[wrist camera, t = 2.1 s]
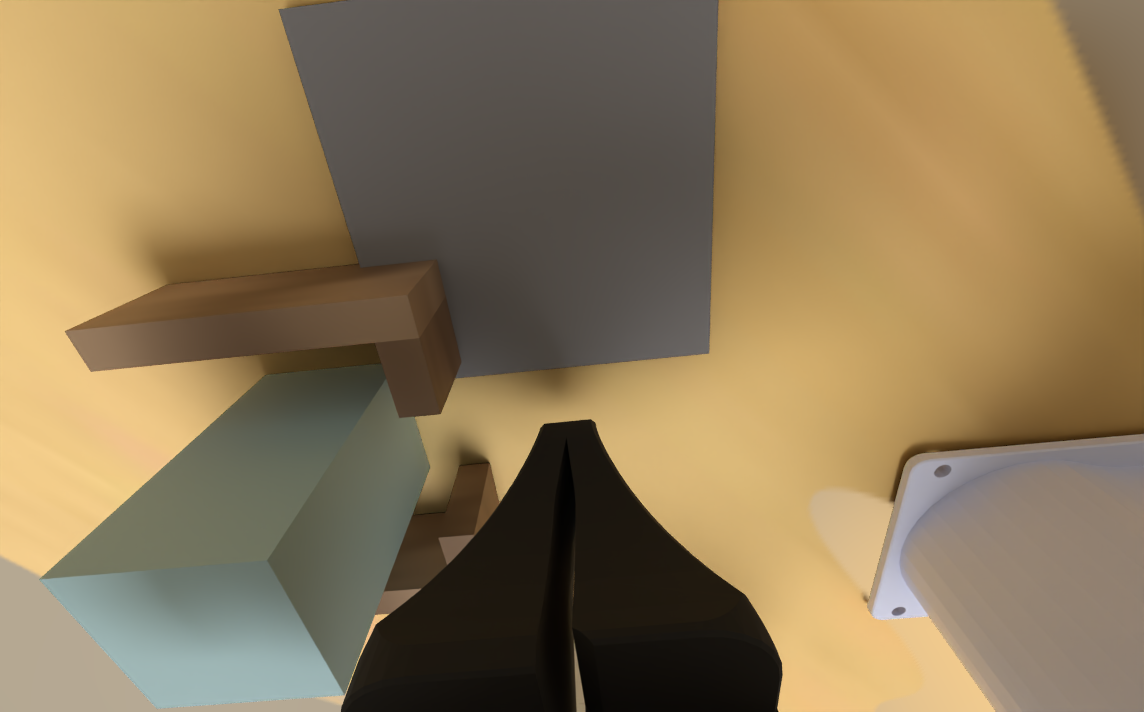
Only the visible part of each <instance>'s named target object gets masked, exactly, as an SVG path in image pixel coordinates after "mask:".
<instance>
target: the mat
mask: <svg viewBox="0 0 1144 712" xmlns="http://www.w3.org/2000/svg"><path fill="white" fill-rule="evenodd" d="M279 12H280V15H281V19H282V22H283V25H284V28H285V31H286V34H287V38H288V41H289V44H290V47H291V50H292V53H293V56H294V60H295V63H296V66H297V69H298V72H299V75H300V79H301V82H302V85H303V88H304V91H305V94H306V97H307V101H308V104H309V107H310V110H311V113H312V116H313V120H314V123H315V126H316V129H317V132H318V135H319V138H320V142H321V145H322V148H323V151H324V154H325V157H326V160H327V164H328V167H329V170H330V173H331V176H332V179H333V183H334V186H335V189H336V192H337V195H338V198H339V201H340V205H341V208H342V211H343V214H344V217H345V220H346V224H347V227H348V230H349V233H350V236H351V239H352V242H353V246H354V249H355V252H356V255H357V258H358V261H359V265H360V268H363V267H372V266H381V265H390V264H400V263H409V262H418V261H427V260H436V259H437V262H438V266H439V270H440V274H441V279H442V283H443V287H444V291H445V295H446V299H447V304H448V308H449V312H450V316H451V320H452V324H453V329H454V333H455V337H456V341H457V345H458V349H459V353H460V358H461V365H460V367H459V370H458V372H457V375H456V377H455V378H464V377H474V376H484V375H495V374H505V373H515V372H525V371H535V370H545V369H556V368H566V367H576V366H586V365H596V364H607V363H617V362H627V361H637V360H647V359H657V358H668V357H678V356H688V355H698V354H708V353H709V338H710V300H711V261H712V223H713V185H714V146H715V108H716V69H717V31H718V0H346V1H338V2H331V3H323V4H316V5H308V6H300V7H293V8H285V9H279Z"/></svg>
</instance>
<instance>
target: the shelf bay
mask: <svg viewBox="0 0 1144 712" xmlns="http://www.w3.org/2000/svg"><path fill="white" fill-rule="evenodd" d="M65 333H66V334H67V336H68V337H69V339H70V340H71V342H72V343H73V345H74V346H75V348H76V350H77V351H78V353H79V354H80V356H81V357H82V359H83V360H84V362H85V363H86V365H87V367H88V368H89V370H90V371H91V372H93V371H103V370H112V369H122V368H132V367H142V366H152V365H161V364H171V363H181V362H191V361H201V360H210V359H220V358H230V357H240V356H250V355H259V354H269V353H279V352H289V351H299V350H308V349H318V348H328V347H338V346H348V345H357V344H367V343H375V346H376V349H377V352H378V355H379V358H380V361H381V364H382V367H383V370H384V374H385V377H386V380H387V383H388V386H389V389H390V392H391V395H392V398H393V401H394V404H395V407H396V410H397V413H398V416H399V418H405V417H416V416H426V415H437V414H441V412H442V409H443V407H444V404H445V402H446V399H447V397H448V394H449V392H450V390H451V387H452V385H453V382H454V380H455V377H456V375H457V372H458V370H459V367H460V365H461V358H460V353H459V349H458V345H457V341H456V337H455V333H454V329H453V324H452V320H451V316H450V312H449V308H448V304H447V299H446V295H445V291H444V287H443V283H442V279H441V274H440V270H439V266H438V262H437V259H436V260H427V261H418V262H409V263H400V264H390V265H381V266H372V267H363V268H360V265H359V264H354V265H345V266H336V267H327V268H318V269H308V270H299V271H290V272H281V273H272V274H263V275H253V276H244V277H235V278H226V279H217V280H207V281H198V282H189V283H180V284H171V285H165V286H163V287H161V288H159V289H157V290H154V291H152V292H150V293H148V294H146V295H143V296H141V297H139V298H137V299H135V300H132V301H130V302H128V303H126V304H124V305H121V306H119V307H117V308H115V309H113V310H110V311H108V312H106V313H104V314H102V315H99V316H97V317H95V318H93V319H91V320H88V321H86V322H84V323H82V324H80V325H77V326H75V327H73V328H71V329H69V330H66V331H65ZM498 505H499V501H498V497H497V492H496V488H495V484H494V480H493V475H492V471H491V467H490V463H483V464H472V465H461V466H459V469H458V473H457V476H456V480H455V483H454V486H453V490H452V493H451V496H450V500H449V503H448V507H447V510H446V513H435V514H423V515H412V517H411V520H410V522H409V525H408V528H407V530H406V533H405V536H404V538H403V541H402V544H401V546H400V549H399V552H398V554H397V557H396V560H395V562H394V565H393V568H392V570H391V573H390V576H389V578H388V581H387V584H386V586H385V589H384V592H383V594H382V597H381V600H380V602H379V605H378V608H377V610H376V613H375V615H378V614H390V613H392V612H393V611H394V610H396V609H397V608H398V607H399V606H401V605H402V604H403V603H405V602H406V601H407V600H408V599H410V598H411V597H412V596H414V595H415V594H416V593H417V592H418V591H420V590H421V589H422V588H423V587H424V586H425V585H426V584H428V583H429V582H430V581H431V580H432V579H433V578H434V577H435V576H436V575H437V574H438V573H439V572H440V571H441V570H442V569H444V568H445V567H446V566H447V565H448V564H449V563H450V562H451V561H452V560H453V559H454V558H455V557H456V556H457V555H458V554H459V553H460V551H461V550H462V549H463V548H464V547H465V546H466V545H467V544H468V543H469V541H470V540H471V539H472V538H473V537H474V536H475V535H476V533H477V532H478V531H479V530H480V529H481V527H482V526H483V525H484V524H485V522H486V521H487V520H488V519H489V517H490V516H491V515H492V513H493V512H494V511H495V509H496V508H497V506H498Z"/></svg>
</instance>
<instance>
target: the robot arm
mask: <svg viewBox="0 0 1144 712" xmlns="http://www.w3.org/2000/svg"><path fill="white" fill-rule="evenodd" d="M574 572H575V574H574ZM573 590H574V596H573ZM867 608H868V610H869V612H870V613H871V615H872V616H873V617H874V618H876V619H879V620H886V619H900V618H911V617H926V616H929V618H930V619H931V620H932V622H933V623H934V625H935V626H936V627H937V629H938V630H939V632H940V633H941V635H942V636H943V637H944V639H945V640H946V642H947V643H948V644H949V646H950V647H951V649H952V650H953V651H954V653H955V654H956V656H957V657H958V658H959V660H960V661H961V663H962V664H963V666H964V667H965V669H966V670H967V671H968V673H969V674H970V676H971V677H972V678H973V680H974V681H975V683H976V684H977V686H978V687H979V688H980V690H981V691H982V693H983V694H984V696H985V697H986V698H987V700H988V701H989V703H990V704H991V705H992V707H993V708H994V710H995V711H996V712H1144V434H1137V435H1125V436H1114V437H1103V438H1091V439H1080V440H1069V441H1057V442H1046V443H1035V444H1023V445H1012V446H1001V447H989V448H978V449H967V450H955V451H944V452H933V453H922V454H918V455H915V456H913V457H911V458H910V459H909V460H908V461H907V462H906V464H905V466H904V469H903V473H902V477H901V481H900V484H899V488H898V492H897V496H896V499H895V503H894V507H893V511H892V514H891V518H890V522H889V526H888V529H887V533H886V537H885V541H884V544H883V548H882V552H881V556H880V559H879V563H878V567H877V571H876V574H875V578H874V582H873V586H872V589H871V593H870V597H869V601H868V604H867ZM574 643H575V649H576V655H577V661H578V666H579V672H580V678H581V684H582V690H583V696H584V702H585V712H778V709H777V706H778V700H779V693H780V687H781V681H782V662H781V660H780V657H779V655H778V652H777V649H776V647H775V645H774V643H773V641H772V639H771V637H770V635H769V633H768V631H767V629H766V628H765V626H764V624H763V622H762V621H761V619H760V617H759V615H758V614H757V612H756V611H755V609H754V607H753V606H752V604H751V603H750V601H749V600H748V598H747V597H746V595H745V594H743V593H742V592H740V591H739V590H738V589H736V588H735V587H733V586H732V585H730V584H729V583H728V582H726V581H725V580H723V579H722V578H721V577H719V576H718V575H717V574H715V573H714V572H713V571H711V570H710V569H709V568H708V567H706V566H705V565H704V564H703V563H702V562H700V561H699V560H698V559H697V558H695V557H694V556H693V555H692V554H691V553H690V552H689V551H687V550H686V549H685V548H684V547H683V546H682V545H681V544H680V543H679V542H678V541H677V540H676V539H675V538H673V537H672V536H671V535H670V534H669V533H668V532H667V531H666V530H665V529H664V528H663V527H662V526H661V525H660V524H659V523H658V522H657V520H656V519H655V518H654V517H653V516H652V515H651V514H650V513H649V512H648V510H647V509H646V508H645V507H644V506H643V505H642V503H641V502H640V501H639V500H638V498H637V497H636V496H635V494H634V493H633V492H632V490H631V489H630V488H629V486H628V485H627V484H626V482H625V481H624V479H623V478H622V476H621V475H620V473H619V472H618V470H617V468H616V467H615V465H614V463H613V462H612V460H611V459H610V457H609V455H608V453H607V451H606V450H605V447H604V445H603V443H602V441H601V439H600V437H599V434H598V431H597V428H596V424H595V422H594V421H592V420H591V419H589V420H579V421H569V422H558V423H548V424H544V425H543V426H542V427H541V428H540V431H539V434H538V436H537V439H536V441H535V443H534V445H533V447H532V449H531V451H530V454H529V456H528V457H527V459H526V461H525V463H524V465H523V467H522V468H521V470H520V472H519V474H518V476H517V477H516V479H515V481H514V482H513V484H512V485H511V487H510V488H509V490H508V491H507V493H506V495H505V496H504V498H503V499H502V501H501V502H500V504H499V505H498V506H497V508H496V509H495V511H494V512H493V513H492V515H491V516H490V517H489V519H488V520H487V521H486V522H485V524H484V525H483V526H482V527H481V529H480V530H479V531H478V532H477V533H476V535H475V536H474V537H473V538H472V539H471V540H470V541H469V543H468V544H467V545H466V546H465V547H464V548H463V549H462V550H461V551H460V553H459V554H458V555H457V556H456V557H455V558H454V559H453V560H452V561H451V562H450V563H449V564H448V565H447V566H446V567H445V568H444V569H442V570H441V571H440V572H439V573H438V574H437V575H436V576H435V577H434V578H433V579H432V580H431V581H430V582H429V583H428V584H426V585H425V586H424V587H423V588H422V589H421V590H420V591H418V592H417V593H416V594H415V595H414V596H412V597H411V598H410V599H408V600H407V601H406V602H405V603H403V604H402V605H401V606H399V607H398V608H397V609H396V610H394V611H393V612H392V613H391V614H389V615H388V616H387V617H385V618H384V619H383V620H381V621H380V622H379V623H377V624H376V626H375V628H374V630H373V632H372V634H371V636H370V638H369V640H368V642H367V644H366V646H365V648H364V650H363V652H362V655H361V657H360V659H359V661H358V664H357V667H356V669H355V672H354V675H353V677H352V680H351V683H350V686H349V688H348V691H347V694H346V696H345V699H344V702H343V705H342V708H341V712H577V707H576V684H575V659H574Z"/></svg>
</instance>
